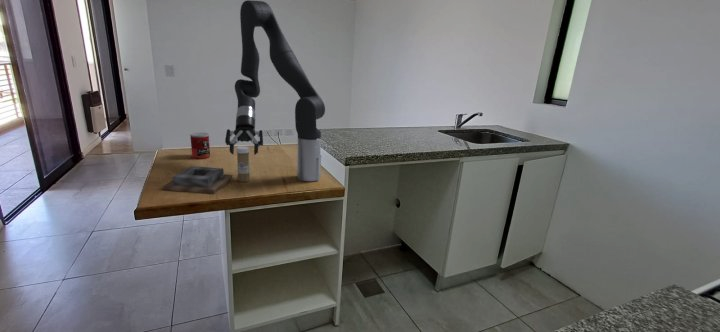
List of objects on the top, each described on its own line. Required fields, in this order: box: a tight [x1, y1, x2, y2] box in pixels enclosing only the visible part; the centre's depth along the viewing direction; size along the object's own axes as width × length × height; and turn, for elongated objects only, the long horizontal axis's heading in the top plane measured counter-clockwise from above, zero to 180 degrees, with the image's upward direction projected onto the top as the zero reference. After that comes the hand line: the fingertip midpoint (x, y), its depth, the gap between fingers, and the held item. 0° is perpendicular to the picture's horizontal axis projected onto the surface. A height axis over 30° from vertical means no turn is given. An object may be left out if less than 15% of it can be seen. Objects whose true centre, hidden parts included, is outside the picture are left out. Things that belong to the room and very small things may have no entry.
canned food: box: [189, 131, 211, 160], centre depth 155 cm, size 8×8×11 cm
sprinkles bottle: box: [236, 145, 251, 183], centre depth 129 cm, size 5×5×14 cm
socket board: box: [162, 165, 234, 194], centre depth 124 cm, size 18×16×4 cm
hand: (243, 153), depth 131 cm, fingers open, 8 cm apart
